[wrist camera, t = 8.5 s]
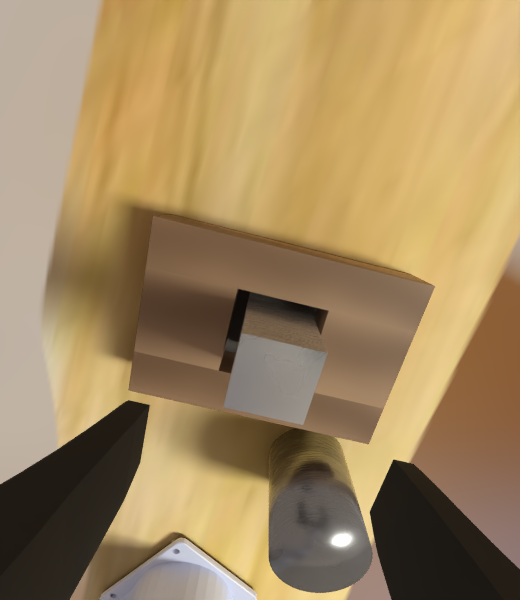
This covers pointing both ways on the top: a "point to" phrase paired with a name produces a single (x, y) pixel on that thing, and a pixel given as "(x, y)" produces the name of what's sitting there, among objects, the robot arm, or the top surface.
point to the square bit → (276, 360)
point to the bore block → (279, 284)
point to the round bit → (314, 515)
